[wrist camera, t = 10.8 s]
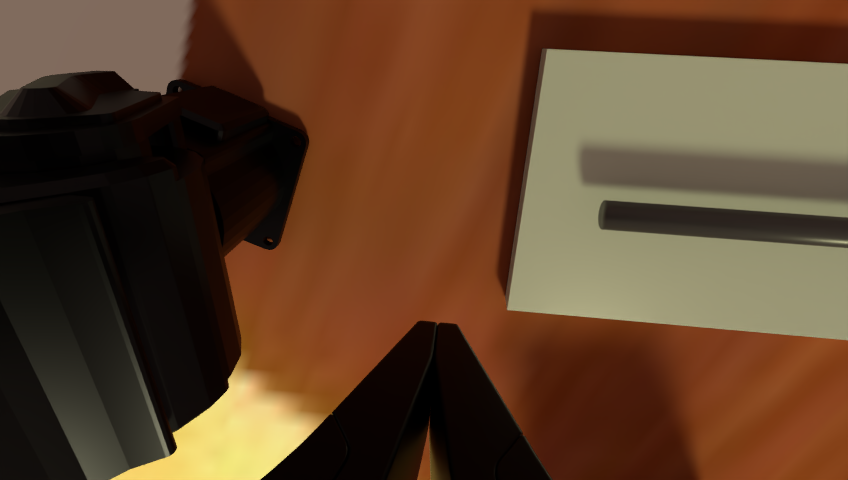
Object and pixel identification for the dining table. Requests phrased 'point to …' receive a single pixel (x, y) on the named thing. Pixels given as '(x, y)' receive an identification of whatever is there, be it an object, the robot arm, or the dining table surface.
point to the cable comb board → (686, 193)
